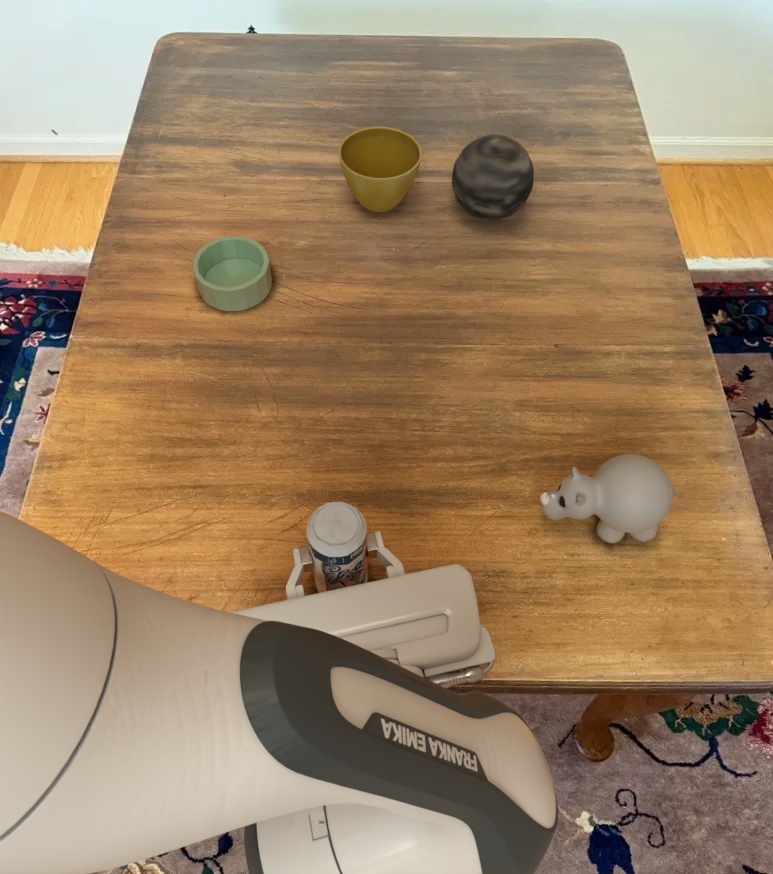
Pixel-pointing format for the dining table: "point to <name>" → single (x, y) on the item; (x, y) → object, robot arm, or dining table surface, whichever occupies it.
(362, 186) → the flower pot
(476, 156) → the decorative stone
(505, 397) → the dining table surface
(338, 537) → the beer can
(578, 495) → the chubby cartoon animal
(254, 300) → the shallow round green bowl
